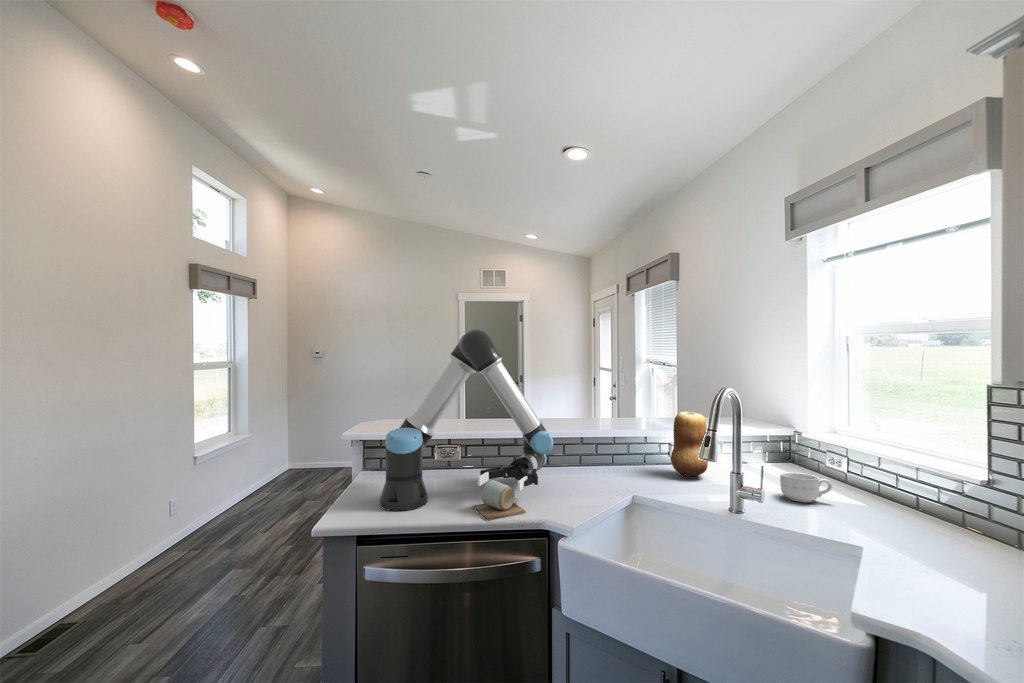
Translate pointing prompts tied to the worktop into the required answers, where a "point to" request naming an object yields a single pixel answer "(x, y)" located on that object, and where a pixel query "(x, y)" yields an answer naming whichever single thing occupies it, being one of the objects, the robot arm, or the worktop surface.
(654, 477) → the worktop surface
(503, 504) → the ceramic mug
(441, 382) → the robot arm
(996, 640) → the worktop surface
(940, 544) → the worktop surface
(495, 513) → the walnut trivet
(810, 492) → the teacup
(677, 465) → the butternut squash
